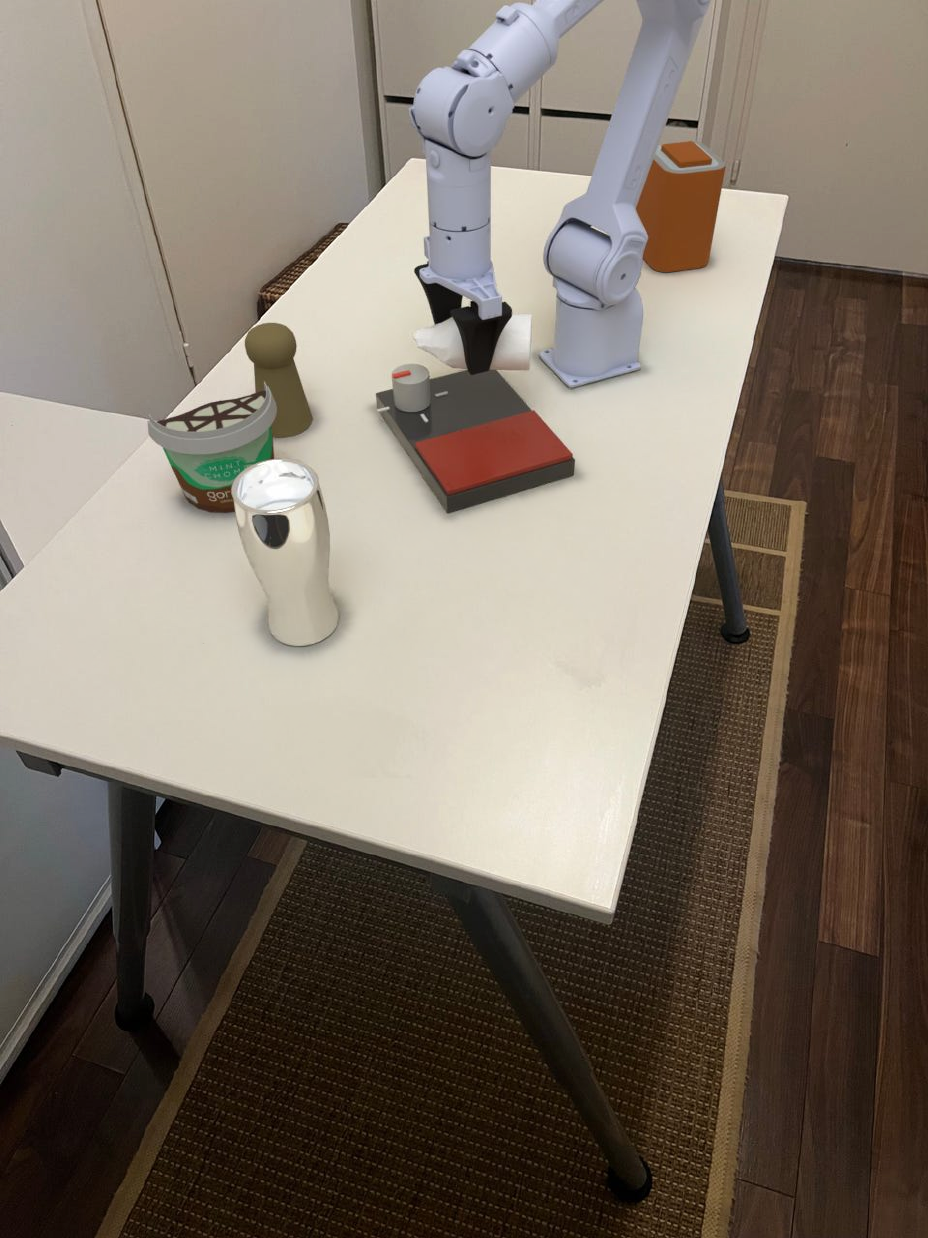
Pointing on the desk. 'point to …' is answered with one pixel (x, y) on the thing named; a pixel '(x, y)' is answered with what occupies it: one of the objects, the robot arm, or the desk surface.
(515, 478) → the hob
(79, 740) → the desk surface
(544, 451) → the plate
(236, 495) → the beer glass
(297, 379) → the olive pawn
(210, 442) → the food container
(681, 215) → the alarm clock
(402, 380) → the hob knob
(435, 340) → the white bottle
